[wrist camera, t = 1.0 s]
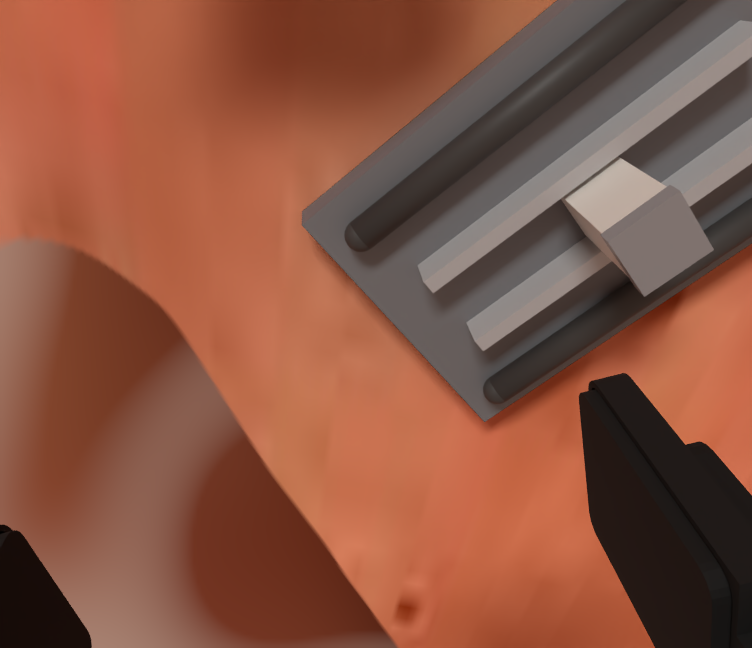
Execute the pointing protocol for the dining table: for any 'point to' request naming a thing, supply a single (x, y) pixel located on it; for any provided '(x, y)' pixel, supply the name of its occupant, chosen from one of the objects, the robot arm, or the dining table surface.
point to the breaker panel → (547, 187)
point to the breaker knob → (638, 224)
